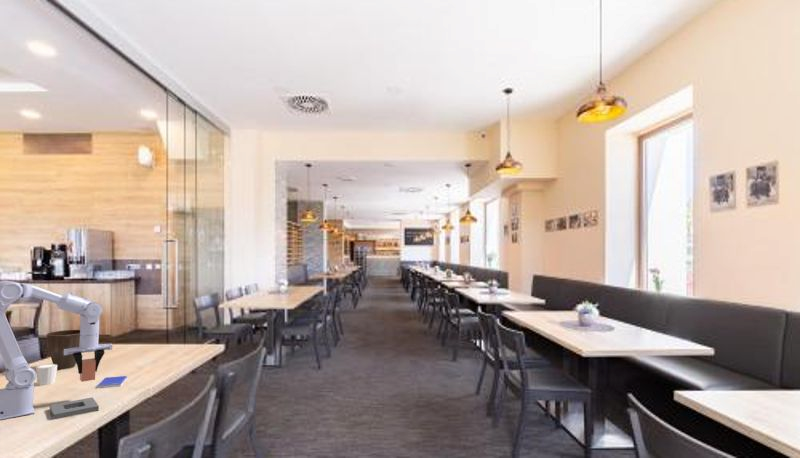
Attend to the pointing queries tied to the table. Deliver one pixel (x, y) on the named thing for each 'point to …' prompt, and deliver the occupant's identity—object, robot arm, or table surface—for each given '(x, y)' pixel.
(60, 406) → the socket plate
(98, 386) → the hard drive
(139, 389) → the table surface
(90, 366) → the reddish brown block
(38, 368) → the white tapered cup
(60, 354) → the plant pot
